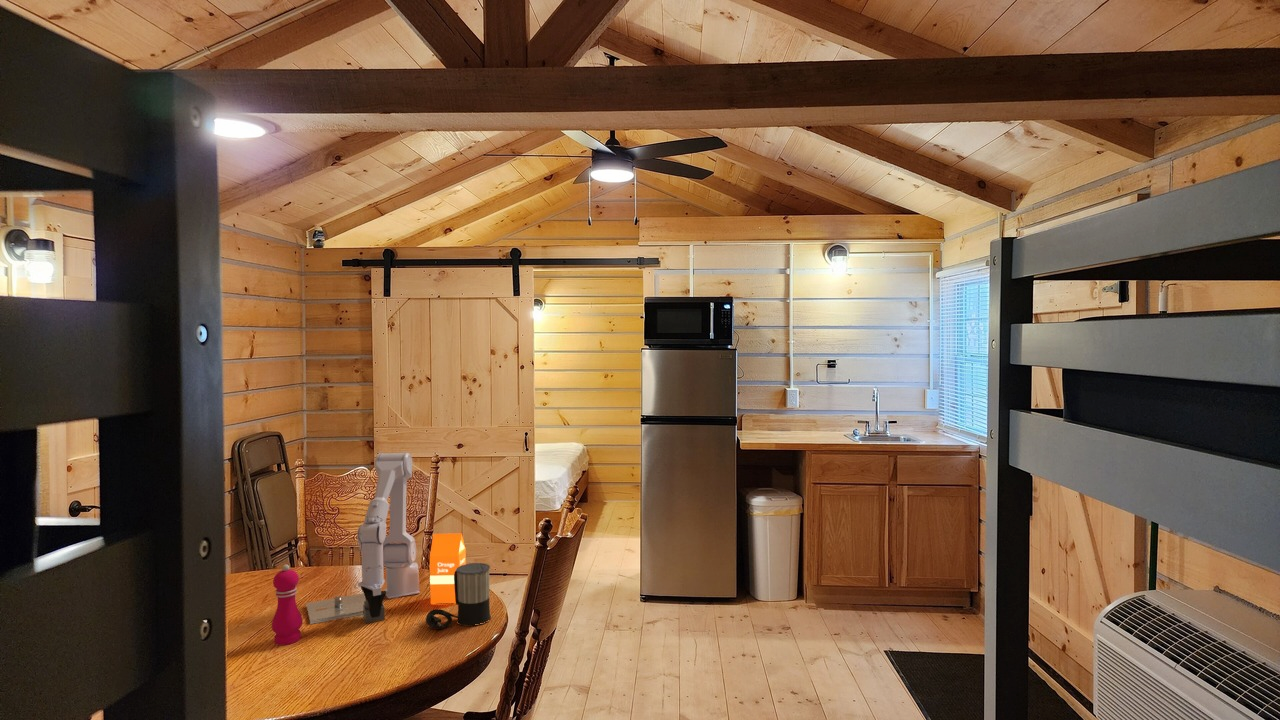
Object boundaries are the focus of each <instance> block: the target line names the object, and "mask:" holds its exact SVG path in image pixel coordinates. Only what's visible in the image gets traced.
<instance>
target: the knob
mask: <svg viewBox="0 0 1280 720" xmlns="http://www.w3.org/2000/svg"><path fill="white" fill-rule="evenodd" d="M385 609H386V608H385V605H384V601H383V602H382V607H381V612H380V616H379V617H374V618H372V617H371V614H370V609H369V604H368V601H367V600H366V601H364V605H363V615H362V616H363V620H364V622H365V624H369V623H374V622H380V621H384V619H385V620H386V615H385V611H386V610H385ZM379 620H380V621H379Z"/></svg>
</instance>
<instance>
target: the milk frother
mask: <svg viewBox="0 0 1280 720" xmlns="http://www.w3.org/2000/svg"><path fill="white" fill-rule="evenodd" d="M490 568H491V566H490V565H489V564H487V563H484V562H483V563H481V562H472V563H470V562H469V563H466V564H464V565H461V566H459V567H458V568H457V569H456V571H455V573H454V586H455V587H454V588H455V602H456V604H455V605H457V616H456V615H454V614H452V613H450V612H449V611H447V610H443V609H437V608H436V609H432V610H429V612H428V613H427V614H426V617H425V623H426V625H427V626H428V627H430V628H431V629H435V630H437V629H438V630H439V629H446V628H448V627H449V626H451V624H452V622H453V618H455V619H457V620H456V623H457V622H458V623H459V624H458V623H457V624H458V625H460V624H461V626H464V625H475V624H480V623H484V622H486V621H488V620H490V621H491V620H492V619H491V618H492V617H491V613H490V612H491V611H490ZM435 615H438V616H439V615H441V616H443V617H445V618H446V620H447V621H446V622H444V623H442V624H441V621H442V619H441V618H438V617H437V616H435ZM488 622H489V621H488Z"/></svg>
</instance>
